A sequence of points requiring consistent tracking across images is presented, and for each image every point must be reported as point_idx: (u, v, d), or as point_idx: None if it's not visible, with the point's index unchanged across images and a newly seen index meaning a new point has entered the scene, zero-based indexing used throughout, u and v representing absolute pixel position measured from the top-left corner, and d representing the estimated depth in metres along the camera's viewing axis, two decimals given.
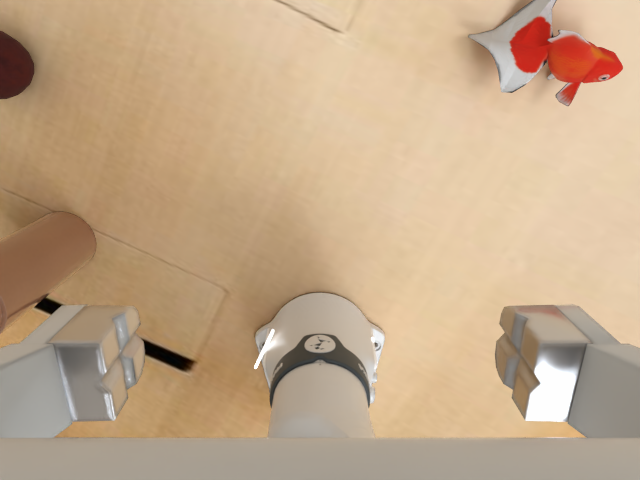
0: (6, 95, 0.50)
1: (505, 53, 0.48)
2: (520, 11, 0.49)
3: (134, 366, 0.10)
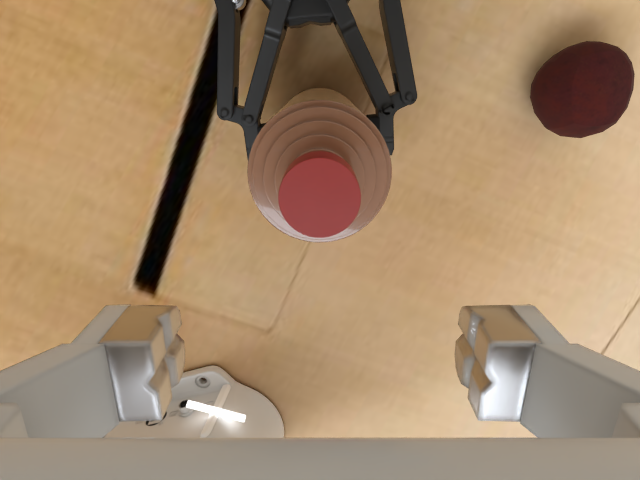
0: (543, 111, 0.37)
1: None
2: None
3: (177, 366, 0.10)
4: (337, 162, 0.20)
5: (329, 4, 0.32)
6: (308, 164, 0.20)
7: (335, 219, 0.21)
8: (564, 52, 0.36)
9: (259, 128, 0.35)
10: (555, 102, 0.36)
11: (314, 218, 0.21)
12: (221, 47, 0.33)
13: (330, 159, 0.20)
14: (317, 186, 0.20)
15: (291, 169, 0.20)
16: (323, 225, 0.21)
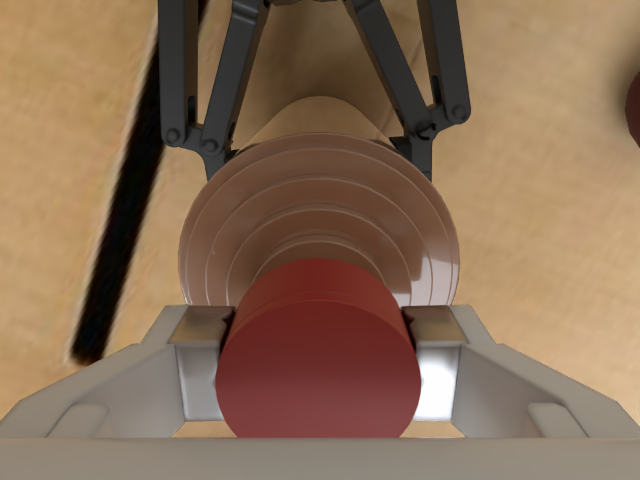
0: None
1: None
2: None
3: None
4: (365, 310, 0.08)
5: None
6: (289, 315, 0.08)
7: (356, 433, 0.09)
8: None
9: (227, 160, 0.23)
10: None
11: (305, 431, 0.08)
12: (164, 34, 0.21)
13: (346, 302, 0.08)
14: (313, 364, 0.08)
15: (245, 326, 0.08)
16: None
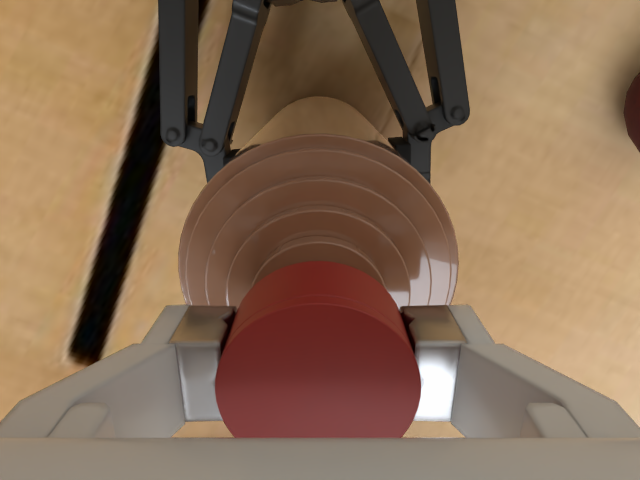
0: None
1: None
2: None
3: None
4: (229, 347, 0.08)
5: None
6: (229, 407, 0.08)
7: (377, 366, 0.08)
8: None
9: (226, 159, 0.23)
10: None
11: (365, 410, 0.08)
12: (164, 33, 0.21)
13: (221, 359, 0.08)
14: (284, 395, 0.08)
15: None
16: (388, 393, 0.08)
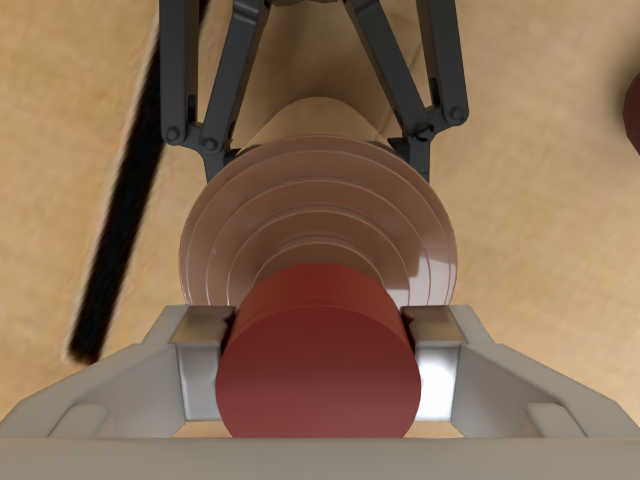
0: None
1: None
2: None
3: None
4: None
5: None
6: None
7: (292, 342, 0.08)
8: None
9: (226, 158, 0.23)
10: None
11: (345, 358, 0.08)
12: (165, 33, 0.21)
13: None
14: (314, 422, 0.08)
15: None
16: (327, 336, 0.08)
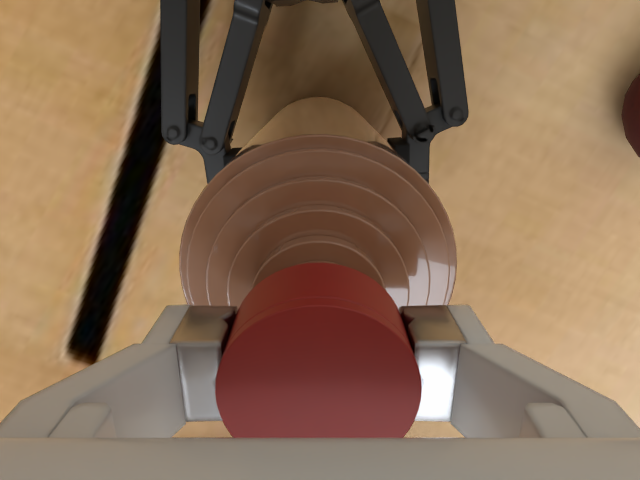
0: None
1: None
2: None
3: None
4: None
5: None
6: (408, 403, 0.08)
7: (254, 409, 0.08)
8: None
9: (226, 158, 0.23)
10: None
11: (275, 371, 0.08)
12: (166, 32, 0.21)
13: None
14: (350, 403, 0.08)
15: (416, 367, 0.08)
16: (249, 382, 0.08)
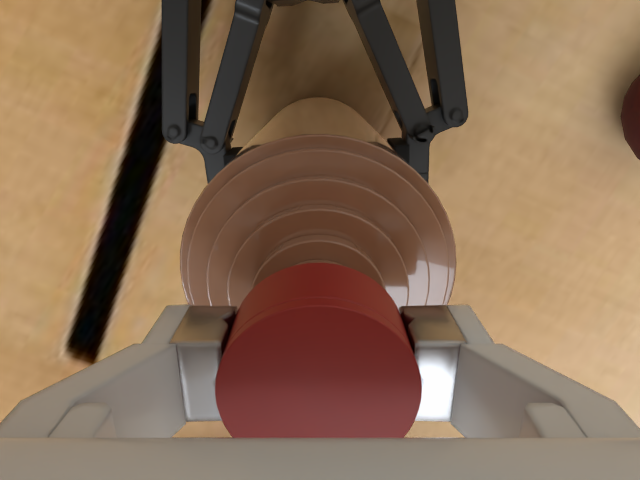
0: None
1: None
2: None
3: None
4: (405, 346, 0.08)
5: None
6: (339, 319, 0.08)
7: None
8: None
9: (227, 157, 0.23)
10: None
11: (283, 427, 0.08)
12: (167, 31, 0.21)
13: (393, 332, 0.08)
14: (330, 371, 0.08)
15: (294, 309, 0.08)
16: None
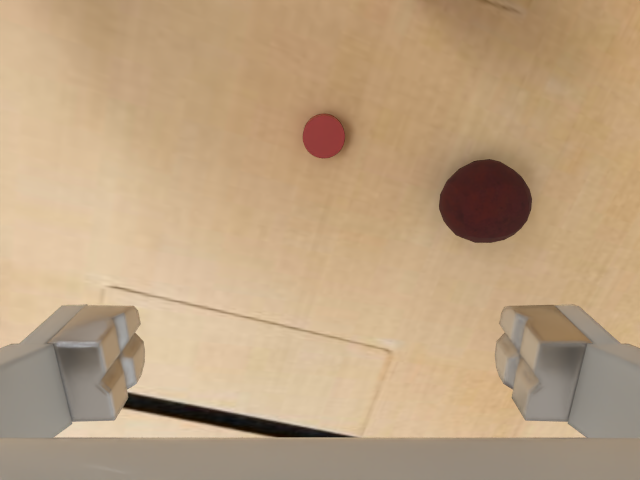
0: (470, 170, 0.39)
1: None
2: None
3: (134, 366, 0.10)
4: (315, 118, 0.40)
5: None
6: (306, 130, 0.40)
7: (337, 137, 0.40)
8: (521, 177, 0.39)
9: None
10: (484, 175, 0.38)
11: (330, 146, 0.40)
12: None
13: (311, 119, 0.40)
14: (318, 133, 0.40)
15: (303, 138, 0.40)
16: (335, 144, 0.40)
